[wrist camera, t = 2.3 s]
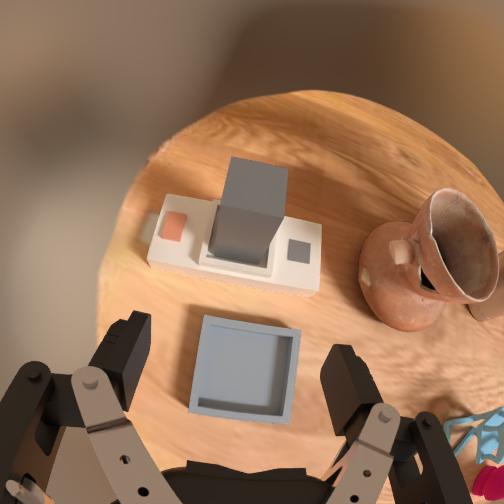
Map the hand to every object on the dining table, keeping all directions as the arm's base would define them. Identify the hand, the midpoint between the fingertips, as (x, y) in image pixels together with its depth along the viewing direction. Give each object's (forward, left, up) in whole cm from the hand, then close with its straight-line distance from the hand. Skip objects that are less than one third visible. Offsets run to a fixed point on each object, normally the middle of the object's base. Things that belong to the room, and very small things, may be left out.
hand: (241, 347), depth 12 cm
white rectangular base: (-10, -6, -18) cm, 22 cm away
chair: (-9, +38, -18) cm, 43 cm away
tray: (0, +3, -18) cm, 18 cm away
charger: (-10, -6, -15) cm, 19 cm away
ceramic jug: (-21, +13, -18) cm, 31 cm away
